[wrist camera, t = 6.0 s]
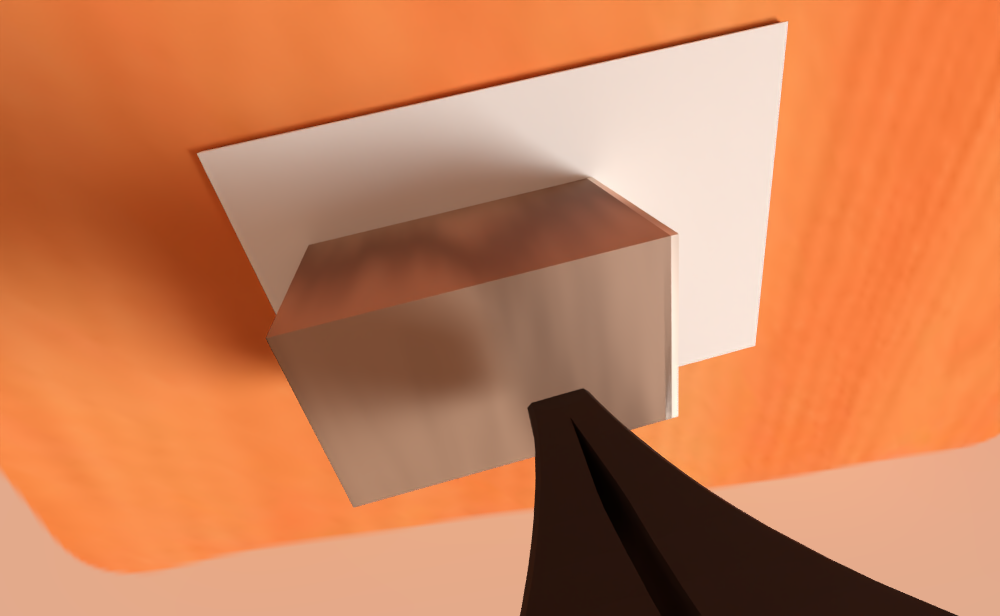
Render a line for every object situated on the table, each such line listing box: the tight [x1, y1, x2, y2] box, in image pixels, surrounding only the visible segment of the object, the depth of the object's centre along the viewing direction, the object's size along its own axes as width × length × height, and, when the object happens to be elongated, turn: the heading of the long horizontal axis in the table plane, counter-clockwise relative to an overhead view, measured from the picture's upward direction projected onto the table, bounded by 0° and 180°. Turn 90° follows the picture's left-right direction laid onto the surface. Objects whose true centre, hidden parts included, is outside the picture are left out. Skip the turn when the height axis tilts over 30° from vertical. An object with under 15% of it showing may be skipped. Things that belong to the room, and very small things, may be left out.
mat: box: [197, 21, 788, 367], centre depth 18 cm, size 19×13×1 cm
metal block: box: [266, 177, 679, 507], centre depth 15 cm, size 6×6×10 cm
